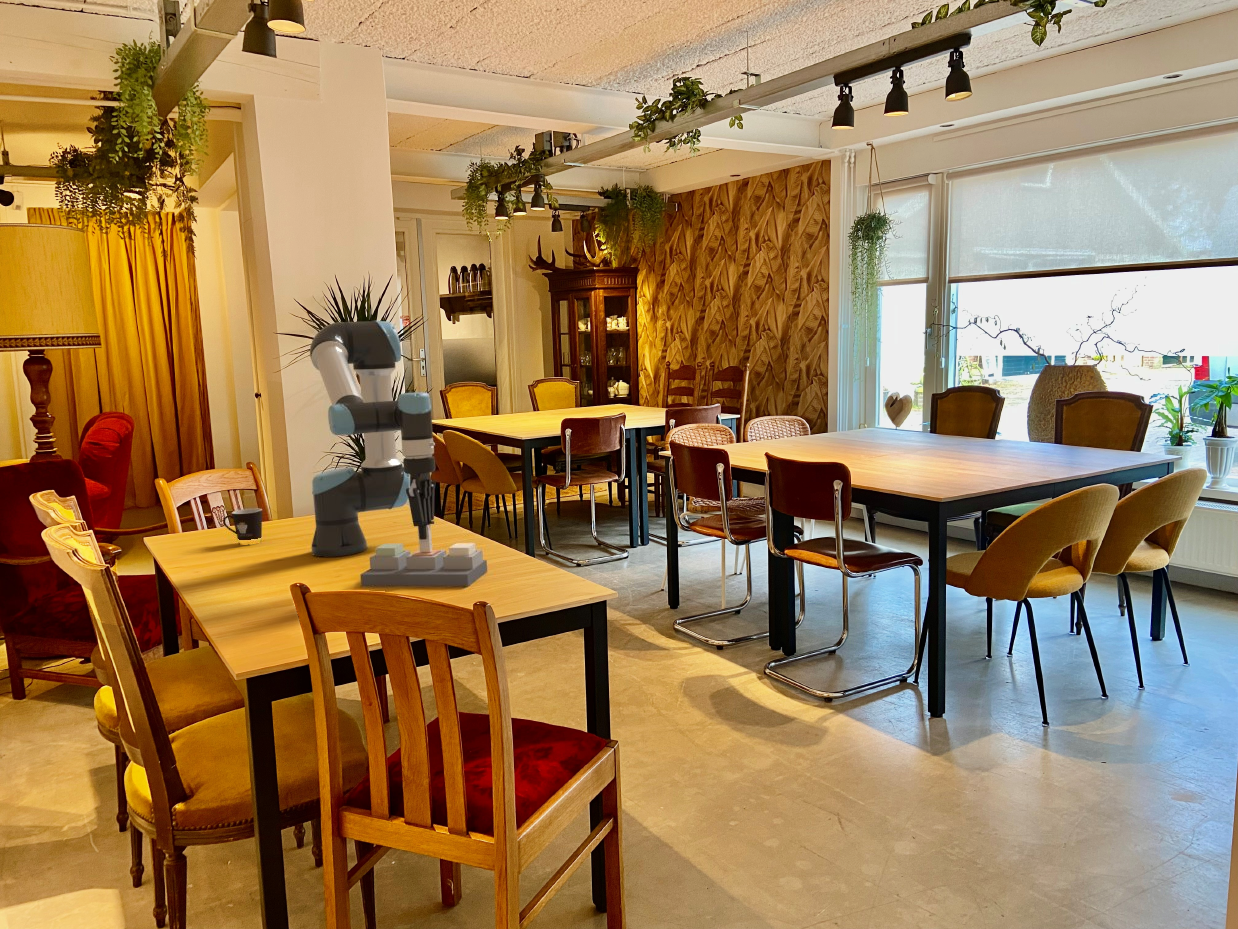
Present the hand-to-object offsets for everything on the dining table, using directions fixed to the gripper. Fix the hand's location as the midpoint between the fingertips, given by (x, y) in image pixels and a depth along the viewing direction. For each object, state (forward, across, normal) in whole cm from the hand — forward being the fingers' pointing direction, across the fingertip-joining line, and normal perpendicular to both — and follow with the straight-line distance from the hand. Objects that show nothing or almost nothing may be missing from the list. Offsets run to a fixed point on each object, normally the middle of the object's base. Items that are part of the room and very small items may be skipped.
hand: (426, 551), depth 218 cm
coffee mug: (+6, +41, +76) cm, 86 cm away
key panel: (+7, -1, 0) cm, 7 cm away
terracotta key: (+3, 0, 0) cm, 3 cm away
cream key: (+2, 0, -9) cm, 10 cm away
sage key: (+2, 0, +10) cm, 10 cm away
